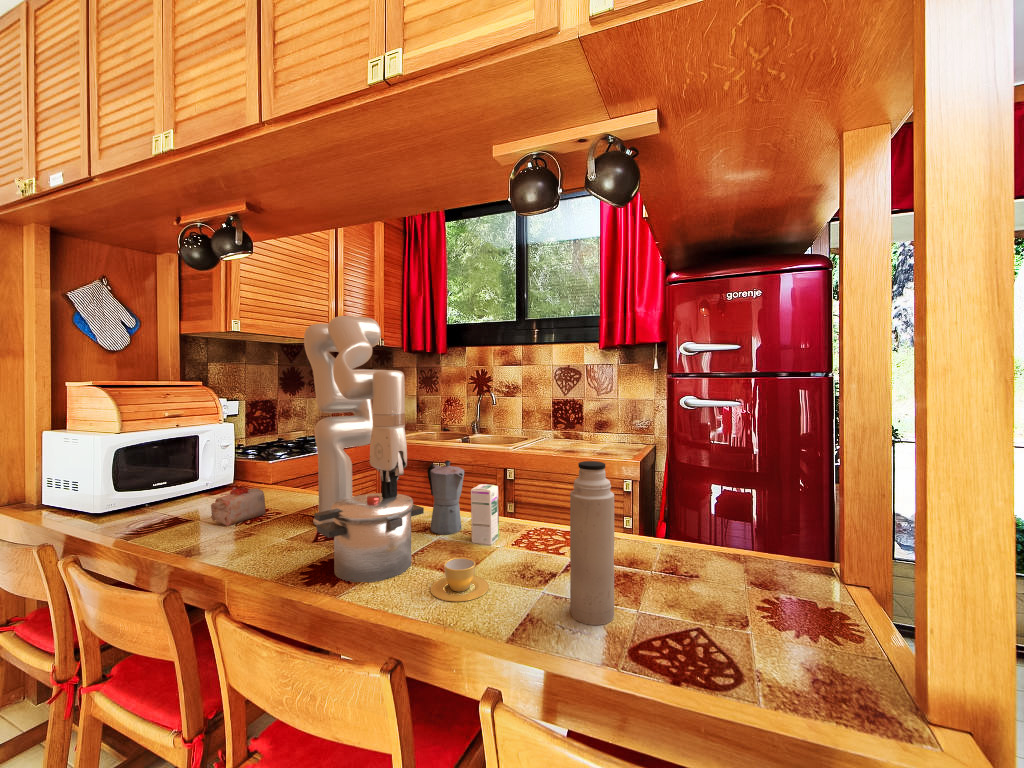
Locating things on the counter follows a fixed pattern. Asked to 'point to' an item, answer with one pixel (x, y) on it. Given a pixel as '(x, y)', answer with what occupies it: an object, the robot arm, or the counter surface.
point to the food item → (238, 506)
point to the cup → (459, 580)
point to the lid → (368, 508)
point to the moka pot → (445, 497)
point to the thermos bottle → (592, 546)
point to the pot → (371, 547)
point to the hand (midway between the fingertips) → (389, 496)
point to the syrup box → (485, 514)
